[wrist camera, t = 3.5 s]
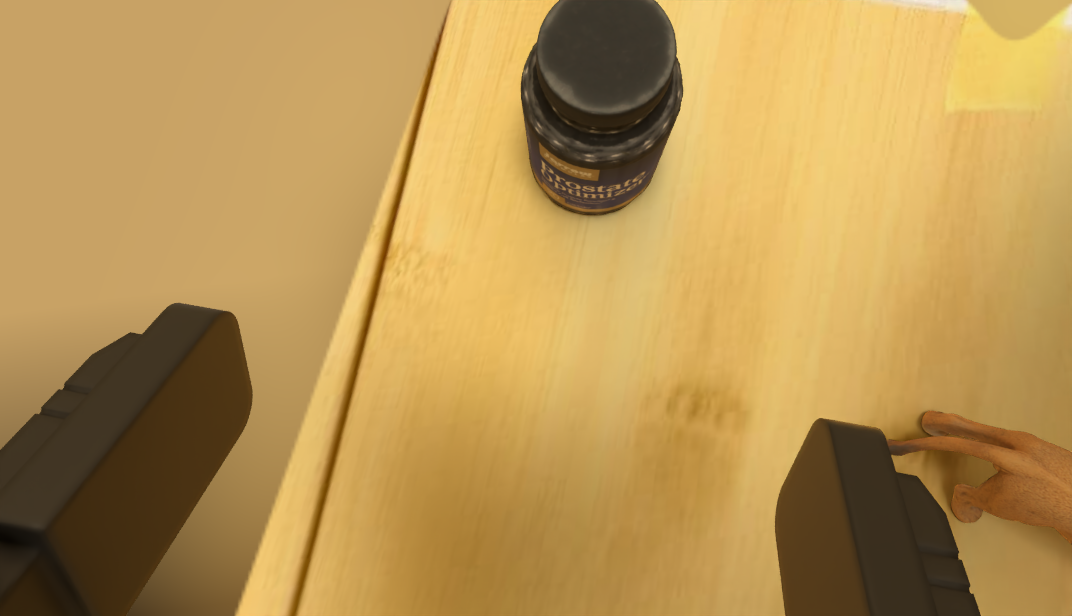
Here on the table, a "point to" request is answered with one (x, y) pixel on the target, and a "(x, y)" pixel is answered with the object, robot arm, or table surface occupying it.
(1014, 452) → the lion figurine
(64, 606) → the robot arm
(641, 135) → the pill bottle
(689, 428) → the table surface
